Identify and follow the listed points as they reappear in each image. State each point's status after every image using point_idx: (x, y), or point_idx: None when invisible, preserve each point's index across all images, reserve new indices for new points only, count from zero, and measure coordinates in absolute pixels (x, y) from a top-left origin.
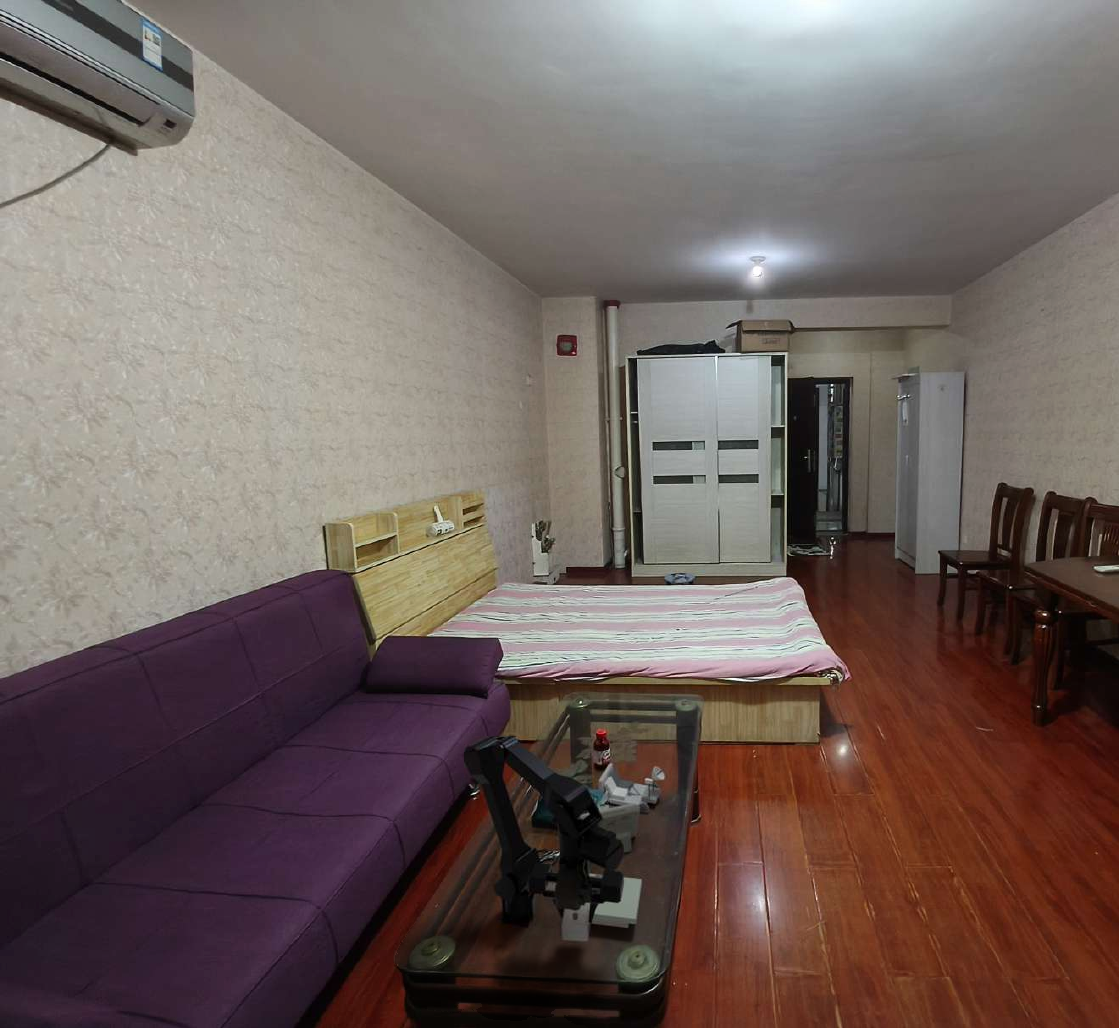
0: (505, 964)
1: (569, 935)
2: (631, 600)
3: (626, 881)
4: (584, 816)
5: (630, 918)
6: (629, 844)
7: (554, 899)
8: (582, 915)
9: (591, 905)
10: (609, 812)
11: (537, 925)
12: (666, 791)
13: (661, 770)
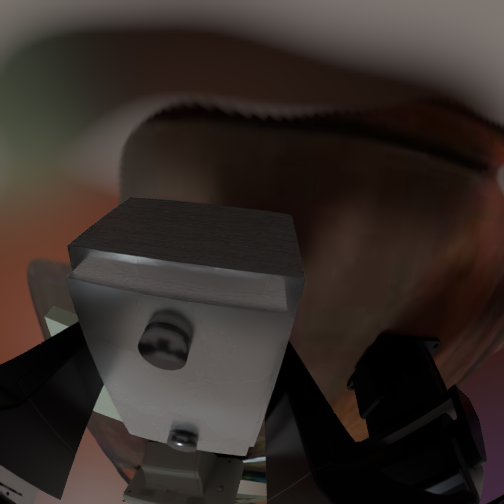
0: (462, 209)
1: (240, 222)
2: None
3: (110, 412)
4: None
5: (56, 321)
6: (147, 452)
7: (362, 479)
8: (110, 339)
9: (20, 387)
10: None
11: (355, 337)
12: (132, 472)
13: (124, 501)
